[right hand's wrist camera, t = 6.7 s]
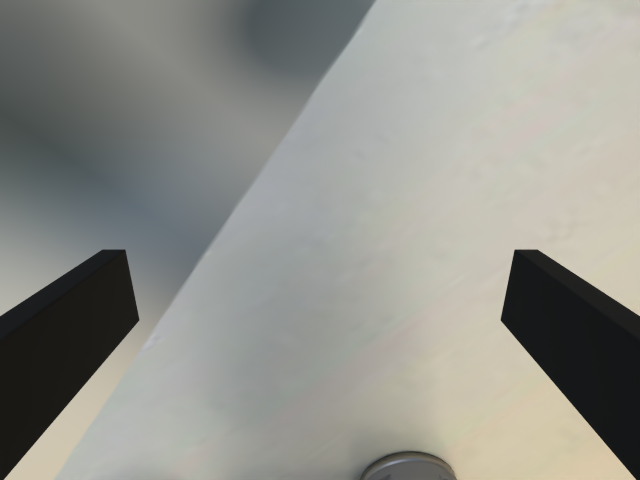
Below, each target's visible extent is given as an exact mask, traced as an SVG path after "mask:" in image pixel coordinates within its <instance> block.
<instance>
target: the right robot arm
mask: <svg viewBox="0 0 640 480" xmlns="http://www.w3.org/2000/svg"><path fill="white" fill-rule="evenodd" d="M138 321H139V316H138V311H137V306H136V301H135V296H134V291H133V286H132V281H131V276H130V271H129V266H128V261H127V256H126V251H125V250H101V251H100V252H98V253H97V254H95V255H94V256H92V257H91V258H89V259H87V260H86V261H84V262H83V263H81V264H80V265H78V266H77V267H75V268H74V269H72V270H71V271H69V272H67V273H66V274H64V275H63V276H61V277H60V278H58V279H57V280H55V281H54V282H52V283H51V284H49V285H48V286H46V287H44V288H43V289H41V290H40V291H38V292H37V293H35V294H34V295H32V296H31V297H29V298H28V299H26V300H25V301H23V302H21V303H20V304H18V305H17V306H15V307H14V308H12V309H11V310H9V311H8V312H6V313H5V314H3V315H2V316H0V480H4V479H5V477H6V476H7V475H8V474H9V473H10V472H11V470H12V469H13V468H14V467H15V466H16V465H17V463H18V462H19V461H20V460H21V459H22V457H23V456H24V455H25V454H26V453H27V452H28V450H29V449H30V448H31V447H32V446H33V445H34V443H35V442H36V441H37V440H38V439H39V438H40V436H41V435H42V434H43V433H44V432H45V430H46V429H47V428H48V427H49V426H50V425H51V423H52V422H53V421H54V420H55V419H56V418H57V416H58V415H59V414H60V413H61V412H62V411H63V409H64V408H65V407H66V406H67V405H68V403H69V402H70V401H71V400H72V399H73V398H74V396H75V395H76V394H77V393H78V392H79V391H80V389H81V388H82V387H83V386H84V385H85V384H86V382H87V381H88V380H89V379H90V378H91V376H92V375H93V374H94V373H95V372H96V371H97V369H98V368H99V367H100V366H101V365H102V363H103V362H104V361H105V360H106V359H107V358H108V356H109V355H110V354H111V353H112V352H113V351H114V349H115V348H116V347H117V346H118V345H119V344H120V342H121V341H122V340H123V339H124V338H125V337H126V335H127V334H128V333H129V332H130V331H131V329H132V328H133V327H134V326H135V325H136V324H137V322H138ZM501 321H502V322H503V324H504V325H505V326H506V327H507V328H508V329H509V331H510V332H511V333H512V334H513V335H514V337H515V338H516V339H517V340H518V341H519V342H520V344H521V345H522V346H523V347H524V348H525V349H526V351H527V352H528V353H529V354H530V355H531V356H532V358H533V359H534V360H535V361H536V362H537V364H538V365H539V366H540V367H541V368H542V369H543V371H544V372H545V373H546V374H547V375H548V376H549V378H550V379H551V380H552V381H553V382H554V384H555V385H556V386H557V387H558V388H559V389H560V391H561V392H562V393H563V394H564V395H565V396H566V398H567V399H568V400H569V401H570V402H571V403H572V405H573V406H574V407H575V408H576V409H577V411H578V412H579V413H580V414H581V415H582V416H583V418H584V419H585V420H586V421H587V422H588V423H589V425H590V426H591V427H592V428H593V429H594V430H595V432H596V433H597V434H598V435H599V436H600V438H601V439H602V440H603V441H604V442H605V443H606V445H607V446H608V447H609V448H610V449H611V450H612V452H613V453H614V454H615V455H616V456H617V458H618V459H619V460H620V461H621V462H622V463H623V465H624V466H625V467H626V468H627V469H628V470H629V472H630V473H631V474H632V475H633V476H634V477H635V479H636V480H640V316H639V315H637V314H635V313H634V312H632V311H631V310H629V309H628V308H626V307H625V306H623V305H622V304H620V303H619V302H617V301H615V300H614V299H612V298H611V297H609V296H608V295H606V294H605V293H603V292H602V291H600V290H599V289H597V288H596V287H594V286H592V285H591V284H589V283H588V282H586V281H585V280H583V279H582V278H580V277H579V276H577V275H576V274H574V273H573V272H571V271H569V270H568V269H566V268H565V267H563V266H562V265H560V264H559V263H557V262H556V261H554V260H553V259H551V258H549V257H548V256H546V255H545V254H543V253H542V252H540V251H539V250H515V251H514V256H513V261H512V266H511V271H510V276H509V281H508V286H507V291H506V296H505V301H504V306H503V311H502V316H501ZM360 480H457V479H456V476H455V474H454V472H453V471H452V469H451V468H450V467H449V466H448V465H447V464H446V463H445V462H444V461H442V460H440V459H439V458H436V457H434V456H431V455H428V454H423V453H416V452H406V453H398V454H394V455H390V456H387V457H385V458H382V459H380V460H378V461H377V462H375V463H373V464H372V465H371V466H370V467H368V468H367V469H366V470H365V472H364V473H363V474H362V476H361V477H360Z"/></svg>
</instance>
